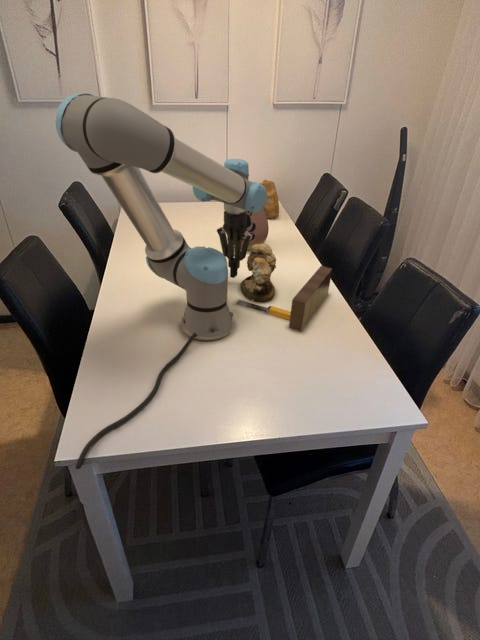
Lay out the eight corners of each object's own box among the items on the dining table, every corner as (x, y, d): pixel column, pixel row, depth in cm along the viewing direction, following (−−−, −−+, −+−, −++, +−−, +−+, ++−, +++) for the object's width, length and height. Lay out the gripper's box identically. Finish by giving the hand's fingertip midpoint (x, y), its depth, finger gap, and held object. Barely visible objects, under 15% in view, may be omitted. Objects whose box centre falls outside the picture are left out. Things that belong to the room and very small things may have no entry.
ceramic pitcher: (220, 250, 164) (220, 190, 150) (238, 233, 181) (239, 177, 167) (260, 257, 159) (264, 196, 146) (274, 239, 176) (279, 182, 162)
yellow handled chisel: (295, 317, 123) (295, 312, 122) (291, 321, 121) (292, 316, 120) (239, 300, 131) (239, 295, 130) (235, 304, 129) (235, 299, 128)
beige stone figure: (236, 278, 143) (237, 234, 134) (267, 277, 145) (270, 233, 136) (245, 304, 129) (248, 256, 119) (280, 301, 131) (285, 254, 121)
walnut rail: (301, 331, 117) (305, 303, 111) (288, 327, 118) (292, 299, 113) (327, 294, 136) (332, 268, 130) (316, 291, 137) (321, 265, 132)
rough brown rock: (245, 207, 216) (243, 179, 207) (274, 204, 216) (274, 177, 208) (247, 223, 197) (246, 193, 189) (280, 220, 198) (280, 191, 189)
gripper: (258, 211, 126) (254, 276, 139) (223, 204, 131) (223, 267, 144) (248, 217, 121) (245, 284, 134) (212, 210, 126) (212, 275, 139)
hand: (233, 276), depth 139 cm, fingers closed
